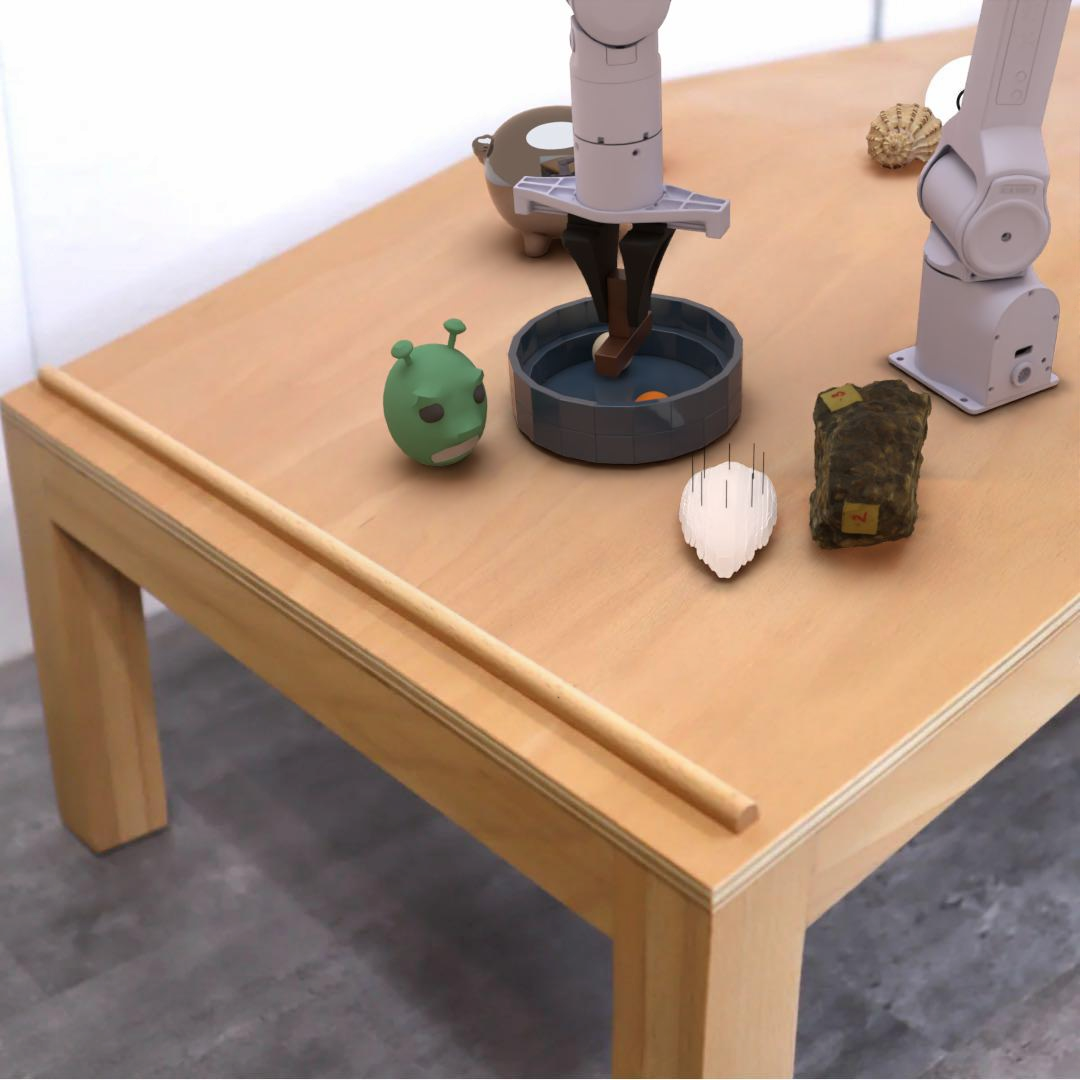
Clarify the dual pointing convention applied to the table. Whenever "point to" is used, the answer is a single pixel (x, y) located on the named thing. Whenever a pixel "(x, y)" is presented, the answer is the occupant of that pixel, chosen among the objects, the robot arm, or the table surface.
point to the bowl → (627, 383)
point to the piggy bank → (528, 167)
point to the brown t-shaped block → (619, 329)
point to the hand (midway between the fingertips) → (623, 318)
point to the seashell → (903, 135)
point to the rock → (867, 463)
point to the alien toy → (435, 400)
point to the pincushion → (728, 514)
